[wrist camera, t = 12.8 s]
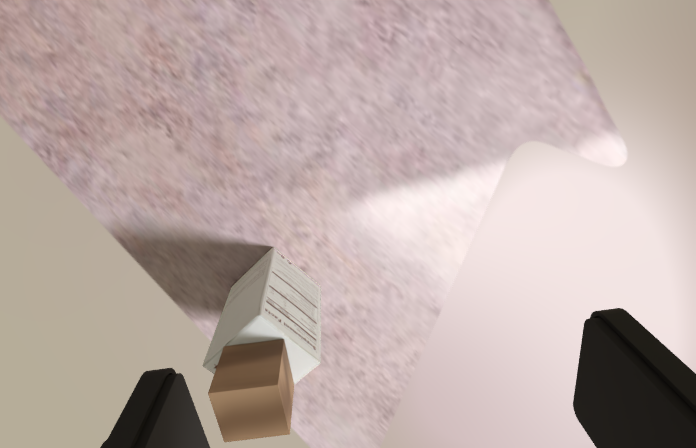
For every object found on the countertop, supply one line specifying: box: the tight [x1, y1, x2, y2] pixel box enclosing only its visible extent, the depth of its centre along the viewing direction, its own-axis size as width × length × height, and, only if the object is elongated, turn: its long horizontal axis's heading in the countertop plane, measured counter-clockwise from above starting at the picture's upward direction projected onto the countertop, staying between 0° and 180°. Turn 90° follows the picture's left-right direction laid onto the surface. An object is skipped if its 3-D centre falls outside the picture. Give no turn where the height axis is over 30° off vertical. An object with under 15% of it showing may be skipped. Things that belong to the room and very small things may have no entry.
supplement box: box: [203, 247, 321, 385], centre depth 41 cm, size 7×7×13 cm
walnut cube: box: [208, 339, 294, 442], centre depth 33 cm, size 5×5×5 cm
